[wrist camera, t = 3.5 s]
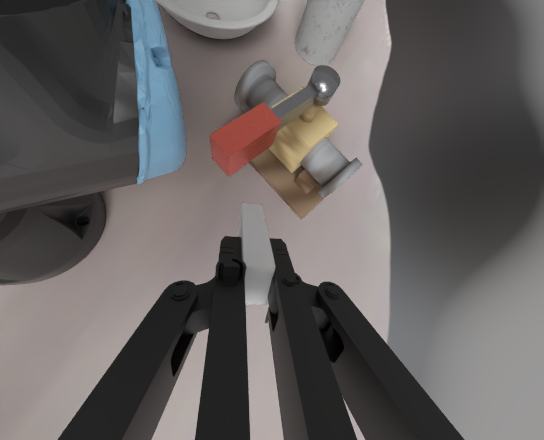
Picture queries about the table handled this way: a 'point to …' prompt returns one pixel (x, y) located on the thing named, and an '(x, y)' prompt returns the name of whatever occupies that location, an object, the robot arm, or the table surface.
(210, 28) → the sink basin
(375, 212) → the table surface
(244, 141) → the lever
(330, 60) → the speckled concrete cylinder
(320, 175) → the valve stand
